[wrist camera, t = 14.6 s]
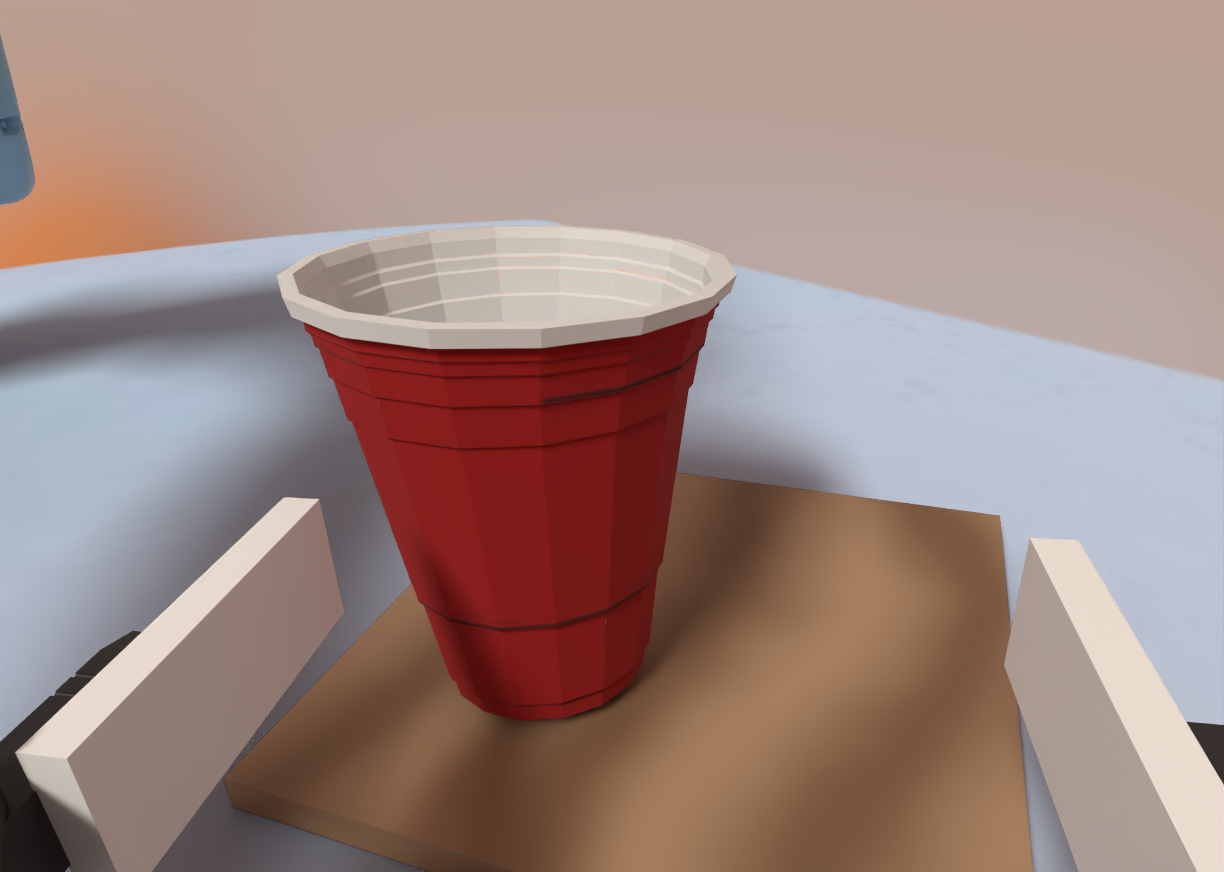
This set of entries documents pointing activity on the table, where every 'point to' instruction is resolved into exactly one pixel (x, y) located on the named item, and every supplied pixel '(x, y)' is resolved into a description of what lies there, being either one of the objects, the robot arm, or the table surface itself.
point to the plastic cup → (520, 435)
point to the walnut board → (701, 714)
